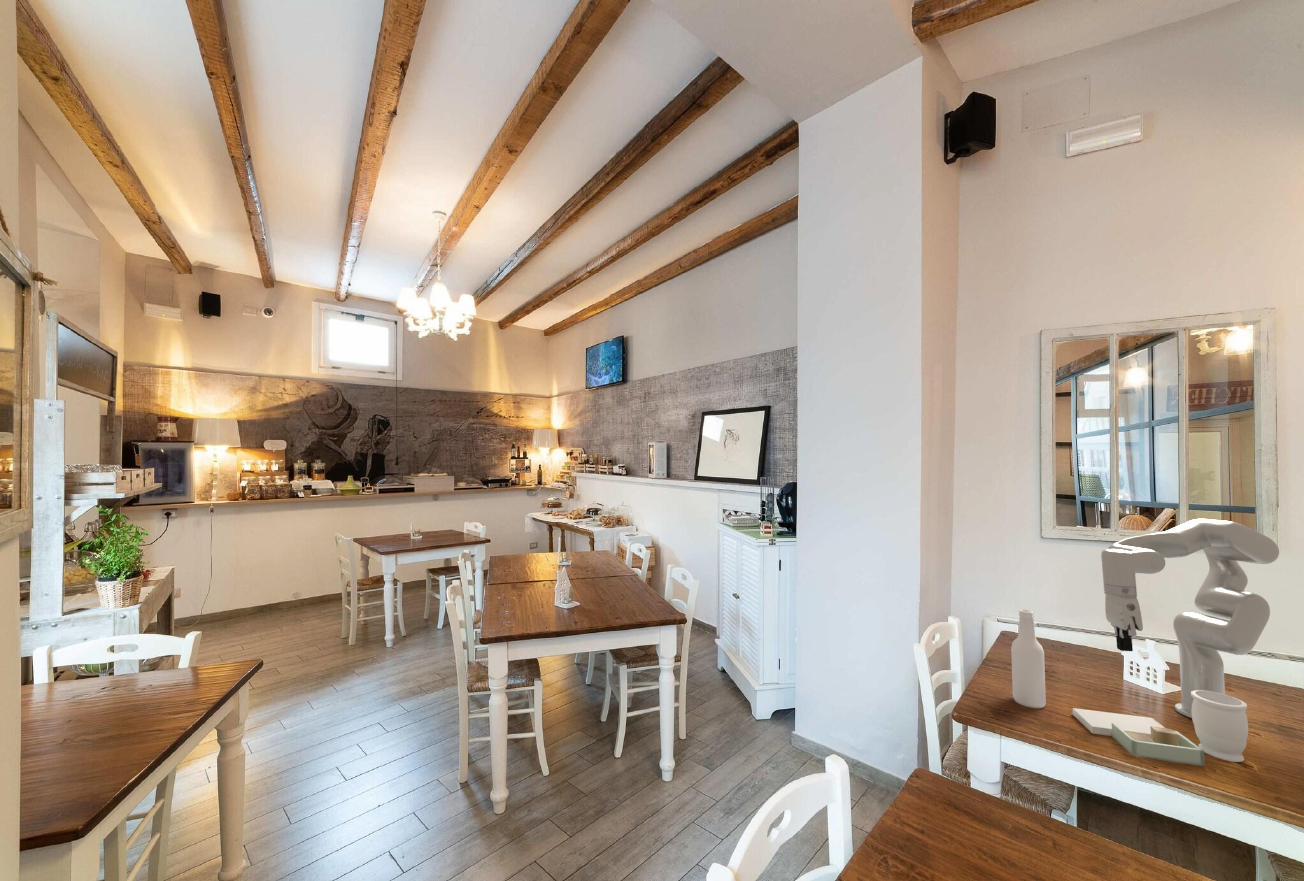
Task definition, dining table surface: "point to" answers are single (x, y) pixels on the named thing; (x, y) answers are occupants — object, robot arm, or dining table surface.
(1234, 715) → the jar
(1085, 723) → the board
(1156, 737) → the tan faceted block
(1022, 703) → the alcohol
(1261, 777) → the dining table surface
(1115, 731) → the tray
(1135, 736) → the tan block
